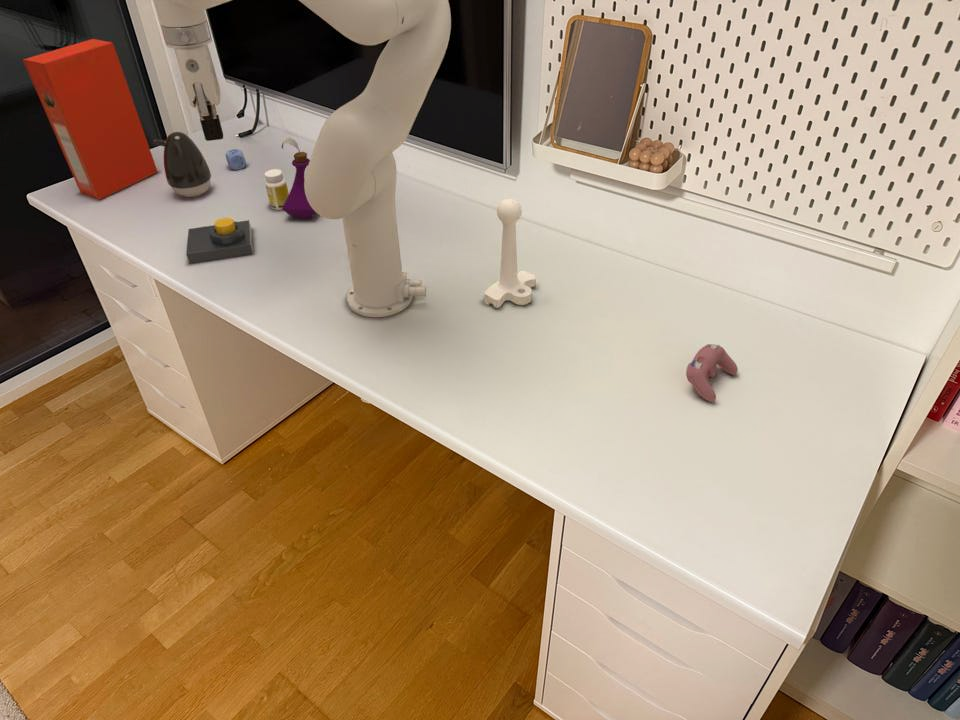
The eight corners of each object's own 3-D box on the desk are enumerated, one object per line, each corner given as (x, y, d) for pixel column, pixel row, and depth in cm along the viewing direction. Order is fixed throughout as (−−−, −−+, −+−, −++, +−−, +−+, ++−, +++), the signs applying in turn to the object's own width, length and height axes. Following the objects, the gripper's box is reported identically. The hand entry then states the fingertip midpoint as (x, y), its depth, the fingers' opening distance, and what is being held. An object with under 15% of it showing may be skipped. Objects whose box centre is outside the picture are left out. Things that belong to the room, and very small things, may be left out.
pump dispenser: (169, 188, 173) (149, 129, 163) (211, 180, 176) (194, 121, 167) (173, 205, 166) (153, 144, 156) (218, 196, 169) (200, 136, 159)
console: (251, 229, 156) (246, 211, 153) (252, 254, 148) (248, 236, 145) (191, 238, 154) (185, 220, 151) (189, 264, 146) (183, 245, 143)
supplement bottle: (293, 201, 167) (286, 168, 161) (287, 210, 163) (280, 177, 158) (274, 200, 167) (266, 168, 162) (267, 210, 163) (259, 176, 158)
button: (235, 224, 150) (233, 216, 149) (236, 233, 147) (233, 225, 146) (216, 227, 149) (214, 219, 148) (216, 236, 146) (214, 228, 145)
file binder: (79, 193, 172) (22, 58, 152) (137, 166, 183) (91, 38, 163) (100, 200, 169) (44, 64, 148) (158, 173, 180) (113, 42, 160)
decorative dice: (231, 171, 180) (227, 156, 178) (228, 165, 183) (224, 151, 180) (247, 167, 182) (243, 153, 179) (243, 162, 184) (239, 147, 182)
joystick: (519, 277, 139) (521, 185, 126) (548, 292, 135) (552, 199, 122) (480, 300, 134) (478, 206, 121) (508, 317, 129) (509, 221, 116)
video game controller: (715, 371, 119) (705, 335, 116) (740, 372, 115) (730, 335, 113) (689, 402, 113) (677, 366, 110) (715, 404, 110) (704, 366, 107)
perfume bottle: (325, 207, 164) (311, 133, 152) (316, 222, 158) (301, 147, 147) (294, 206, 165) (278, 132, 153) (284, 221, 159) (267, 146, 147)
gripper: (209, 44, 112) (236, 152, 124) (210, 20, 123) (235, 121, 135) (160, 48, 111) (192, 157, 123) (166, 23, 122) (195, 125, 134)
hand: (214, 138), depth 129 cm, fingers closed
